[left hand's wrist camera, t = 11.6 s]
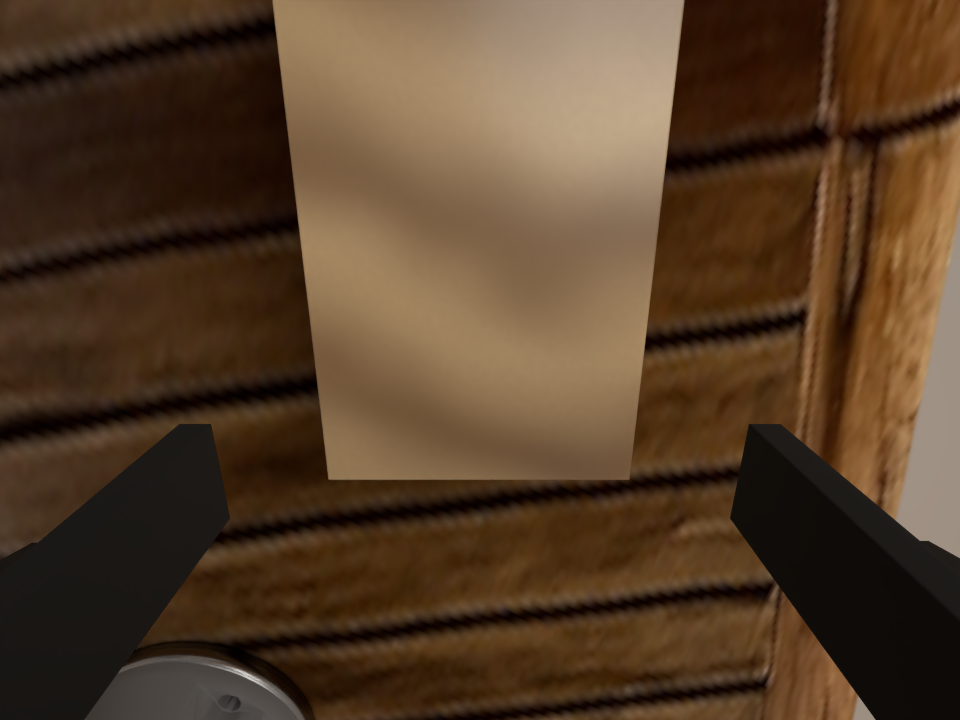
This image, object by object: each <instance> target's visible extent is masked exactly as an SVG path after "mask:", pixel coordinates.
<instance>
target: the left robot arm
mask: <svg viewBox="0 0 960 720" xmlns="http://www.w3.org/2000/svg"><path fill="white" fill-rule="evenodd" d="M229 519H230V517H229V512H228V507H227V502H226V497H225V492H224V487H223V482H222V477H221V472H220V467H219V462H218V457H217V452H216V447H215V442H214V437H213V432H212V427H211V424H179V425H178V426H177V427H176V428H174V429H173V430H172V431H171V432H170V433H168V434H167V435H166V436H165V437H164V438H162V439H161V440H160V441H159V442H158V443H156V444H155V445H154V446H153V447H152V448H151V449H149V450H148V451H147V452H146V453H145V454H143V455H142V456H141V457H140V458H139V459H137V460H136V461H135V462H134V463H133V464H131V465H130V466H129V467H128V468H127V469H125V470H124V471H123V472H122V473H121V474H120V475H118V476H117V477H116V478H115V479H114V480H112V481H111V482H110V483H109V484H108V485H106V486H105V487H104V488H103V489H102V490H100V491H99V492H98V493H97V494H96V495H94V496H93V497H92V498H91V499H90V500H88V501H87V502H86V503H85V504H84V505H83V506H81V507H80V508H79V509H78V510H77V511H75V512H74V513H73V514H72V515H71V516H69V517H68V518H67V519H66V520H65V521H63V522H62V523H61V524H60V525H59V526H57V527H56V528H55V529H54V530H53V531H52V532H50V533H49V534H48V535H47V536H46V537H44V538H43V539H42V540H41V541H40V542H38V543H31V544H29V545H27V546H26V547H24V548H22V549H20V550H18V551H17V552H15V553H13V554H11V555H9V556H8V557H6V558H4V559H2V560H0V720H315V718H314V715H313V712H312V710H311V708H310V706H309V704H308V702H307V700H306V699H305V697H304V696H303V694H302V693H301V692H300V691H299V690H298V688H297V687H296V686H295V685H294V684H293V683H292V682H291V681H290V680H289V679H287V678H286V677H285V676H284V675H282V674H281V673H280V672H278V671H277V670H275V669H274V668H273V667H271V666H269V665H267V664H266V663H264V662H262V661H260V660H258V659H256V658H254V657H252V656H249V655H247V654H244V653H241V652H238V651H235V650H232V649H228V648H224V647H220V646H215V645H209V644H201V643H170V644H162V645H157V646H152V647H148V648H145V649H142V650H139V651H137V652H134V650H135V649H136V648H137V646H138V645H139V643H140V642H141V641H142V639H143V638H144V636H145V635H146V634H147V632H148V631H149V630H150V628H151V627H152V625H153V624H154V623H155V621H156V620H157V618H158V617H159V616H160V614H161V613H162V612H163V610H164V609H165V607H166V606H167V605H168V603H169V602H170V600H171V599H172V598H173V596H174V595H175V594H176V592H177V591H178V589H179V588H180V587H181V585H182V584H183V582H184V581H185V580H186V578H187V577H188V576H189V574H190V573H191V571H192V570H193V569H194V567H195V566H196V565H197V563H198V562H199V560H200V559H201V558H202V556H203V555H204V553H205V552H206V551H207V549H208V548H209V547H210V545H211V544H212V542H213V541H214V540H215V538H216V537H217V535H218V534H219V533H220V531H221V530H222V529H223V527H224V526H225V524H226V523H227V522H228V520H229ZM730 519H731V520H732V522H733V523H734V524H735V526H736V527H737V529H738V530H739V531H740V533H741V534H742V535H743V537H744V538H745V540H746V541H747V542H748V544H749V545H750V547H751V548H752V549H753V551H754V552H755V553H756V555H757V556H758V558H759V559H760V560H761V562H762V563H763V565H764V566H765V567H766V569H767V570H768V571H769V573H770V574H771V576H772V577H773V578H774V580H775V581H776V582H777V584H778V585H779V587H780V588H781V589H782V591H783V592H784V594H785V595H786V596H787V598H788V599H789V600H790V602H791V603H792V605H793V606H794V607H795V609H796V610H797V612H798V613H799V614H800V616H801V617H802V618H803V620H804V621H805V623H806V624H807V625H808V627H809V628H810V630H811V631H812V632H813V634H814V635H815V636H816V638H817V639H818V641H819V642H820V643H821V645H822V646H823V648H824V649H825V650H826V652H827V653H828V654H829V656H830V657H831V659H832V660H833V661H834V663H835V664H836V665H837V667H838V668H839V670H840V671H841V672H842V674H843V675H844V677H845V678H846V679H847V681H848V682H849V683H850V685H851V686H852V688H853V689H854V690H855V692H856V693H857V695H858V696H859V697H860V699H861V700H862V701H863V703H864V704H865V706H866V707H867V708H868V710H869V711H870V713H871V714H872V715H873V717H874V718H875V719H876V720H960V558H958V557H956V556H955V555H953V554H951V553H949V552H947V551H946V550H944V549H942V548H940V547H938V546H937V545H935V544H933V543H931V542H929V541H919V540H918V539H917V538H916V537H914V536H913V535H912V534H911V533H910V532H908V531H907V530H906V529H905V528H904V527H902V526H901V525H900V524H899V523H898V522H897V521H895V520H894V519H893V518H892V517H891V516H889V515H888V514H887V513H886V512H885V511H883V510H882V509H881V508H880V507H879V506H877V505H876V504H875V503H874V502H873V501H872V500H870V499H869V498H868V497H867V496H866V495H864V494H863V493H862V492H861V491H860V490H858V489H857V488H856V487H855V486H854V485H852V484H851V483H850V482H849V481H848V480H846V479H845V478H844V477H843V476H842V475H840V474H839V473H838V472H837V471H836V470H835V469H833V468H832V467H831V466H830V465H829V464H827V463H826V462H825V461H824V460H823V459H821V458H820V457H819V456H818V455H817V454H815V453H814V452H813V451H812V450H811V449H809V448H808V447H807V446H806V445H805V444H804V443H802V442H801V441H800V440H799V439H798V438H796V437H795V436H794V435H793V434H792V433H790V432H789V431H788V430H787V429H786V428H784V427H783V426H782V425H781V424H749V427H748V432H747V437H746V442H745V447H744V452H743V457H742V462H741V467H740V472H739V477H738V482H737V487H736V492H735V497H734V502H733V507H732V512H731V517H730ZM133 652H134V653H133Z"/></svg>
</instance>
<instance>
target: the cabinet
mask: <svg viewBox="0 0 960 720" xmlns="http://www.w3.org/2000/svg"><path fill="white" fill-rule="evenodd" d="M272 2H273V11H274V19H275V28H276V36H277V45H278V53H279V62H280V70H281V79H282V87H283V96H284V105H285V113H286V122H287V130H288V139H289V147H290V156H291V164H292V173H293V181H294V190H295V198H296V207H297V215H298V224H299V232H300V241H301V249H302V258H303V266H304V275H305V283H306V292H307V300H308V309H309V317H310V326H311V334H312V343H313V351H314V360H315V368H316V377H317V385H318V394H319V402H320V411H321V419H322V428H323V436H324V445H325V453H326V462H327V470H328V479H329V480H629V477H630V469H631V460H632V451H633V443H634V434H635V425H636V417H637V408H638V399H639V391H640V382H641V373H642V365H643V356H644V347H645V338H646V330H647V321H648V312H649V304H650V295H651V286H652V278H653V269H654V260H655V252H656V243H657V234H658V226H659V217H660V208H661V200H662V191H663V182H664V174H665V165H666V156H667V148H668V139H669V130H670V122H671V113H672V104H673V96H674V87H675V78H676V70H677V61H678V52H679V44H680V35H681V26H682V18H683V9H684V0H272Z"/></svg>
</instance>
